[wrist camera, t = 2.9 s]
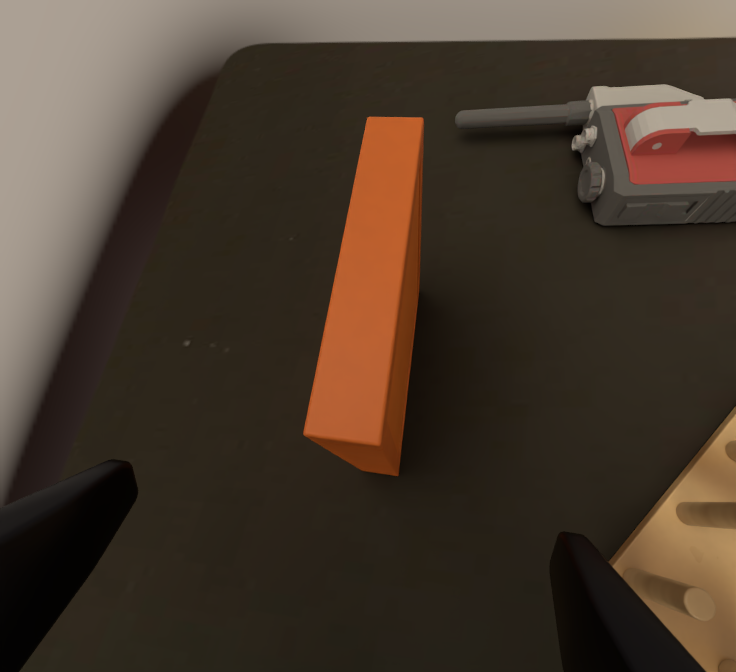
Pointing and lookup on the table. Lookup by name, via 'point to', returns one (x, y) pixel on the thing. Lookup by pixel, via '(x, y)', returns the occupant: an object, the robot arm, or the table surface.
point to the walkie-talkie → (643, 152)
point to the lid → (373, 304)
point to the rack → (692, 554)
